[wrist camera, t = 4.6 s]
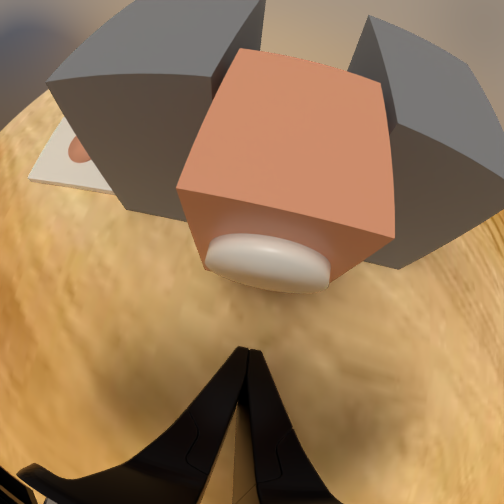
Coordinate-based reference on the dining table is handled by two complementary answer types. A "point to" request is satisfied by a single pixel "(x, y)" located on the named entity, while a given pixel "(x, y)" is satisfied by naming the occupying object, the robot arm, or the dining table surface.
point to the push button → (289, 174)
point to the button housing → (210, 78)
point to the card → (67, 163)
